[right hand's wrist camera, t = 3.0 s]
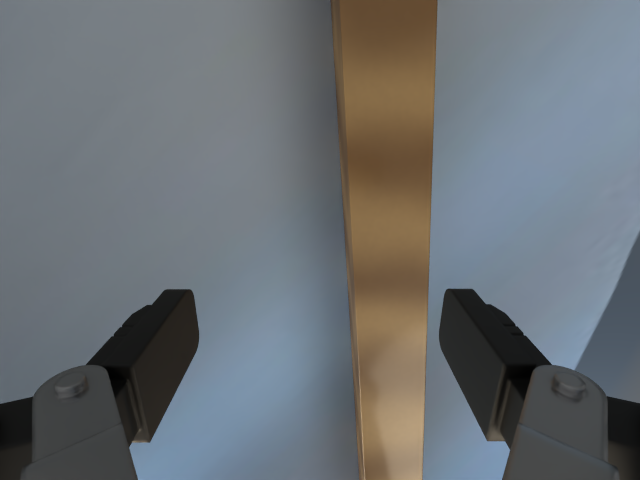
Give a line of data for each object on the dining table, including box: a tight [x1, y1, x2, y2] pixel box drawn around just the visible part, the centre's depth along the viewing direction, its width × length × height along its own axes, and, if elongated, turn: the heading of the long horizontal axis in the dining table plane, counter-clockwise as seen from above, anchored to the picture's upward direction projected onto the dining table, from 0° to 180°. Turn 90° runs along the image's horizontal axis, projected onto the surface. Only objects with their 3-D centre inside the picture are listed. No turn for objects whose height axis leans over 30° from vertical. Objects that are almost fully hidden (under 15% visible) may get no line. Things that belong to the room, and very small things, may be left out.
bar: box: [331, 0, 437, 480], centre depth 31 cm, size 78×5×6 cm, turn 5°
